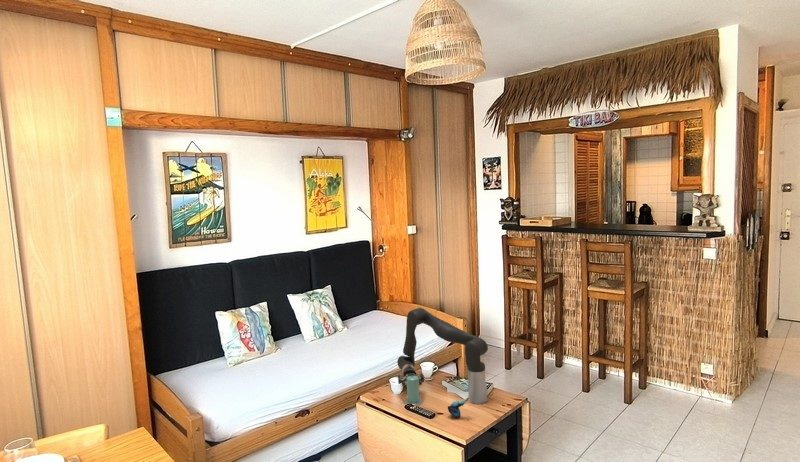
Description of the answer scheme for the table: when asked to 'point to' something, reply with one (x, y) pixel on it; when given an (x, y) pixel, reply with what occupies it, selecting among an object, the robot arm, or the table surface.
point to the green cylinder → (412, 389)
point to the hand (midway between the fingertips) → (412, 384)
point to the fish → (456, 407)
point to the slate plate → (414, 404)
